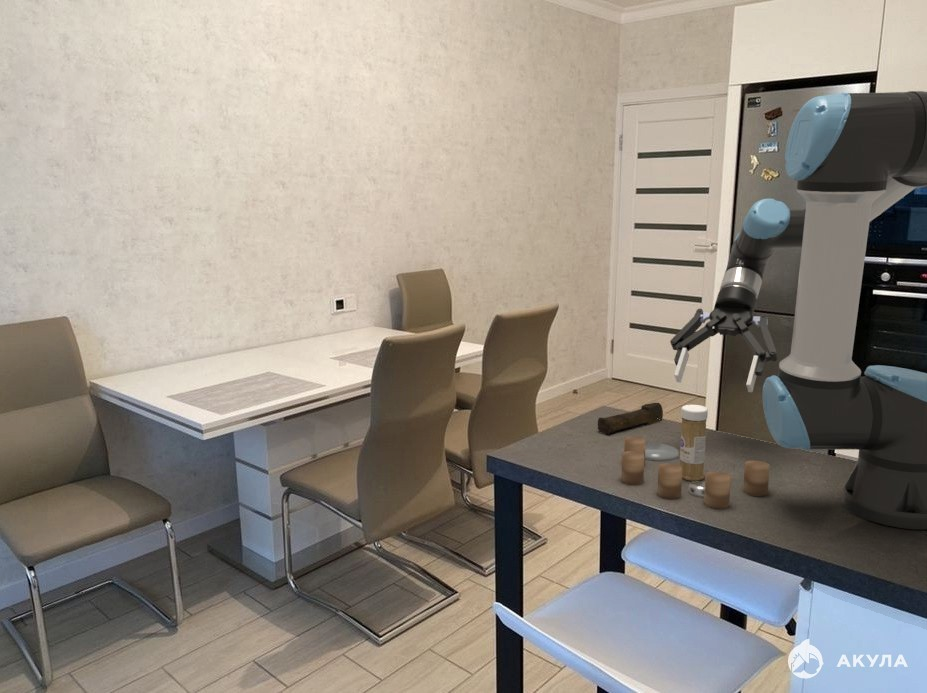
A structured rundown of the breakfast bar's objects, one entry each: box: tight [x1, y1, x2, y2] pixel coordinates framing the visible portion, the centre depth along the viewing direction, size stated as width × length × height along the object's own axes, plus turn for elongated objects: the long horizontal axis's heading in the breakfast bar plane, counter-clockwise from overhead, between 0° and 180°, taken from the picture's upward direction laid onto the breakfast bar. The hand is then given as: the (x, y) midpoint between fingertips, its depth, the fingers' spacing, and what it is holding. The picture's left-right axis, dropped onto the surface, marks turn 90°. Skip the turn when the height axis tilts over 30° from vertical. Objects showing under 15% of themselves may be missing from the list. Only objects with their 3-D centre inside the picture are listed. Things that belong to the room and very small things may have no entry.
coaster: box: [645, 442, 679, 462], centre depth 144 cm, size 9×9×1 cm
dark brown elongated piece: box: [597, 402, 664, 435], centre depth 161 cm, size 19×4×5 cm, turn 120°
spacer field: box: [620, 436, 771, 510], centre depth 129 cm, size 26×18×5 cm
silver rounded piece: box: [687, 480, 705, 498], centre depth 124 cm, size 4×4×2 cm
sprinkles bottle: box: [679, 404, 709, 482], centre depth 130 cm, size 5×5×14 cm
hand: (712, 383), depth 136 cm, fingers open, 13 cm apart
